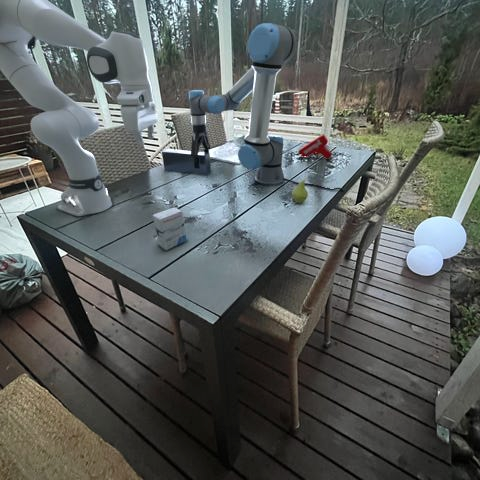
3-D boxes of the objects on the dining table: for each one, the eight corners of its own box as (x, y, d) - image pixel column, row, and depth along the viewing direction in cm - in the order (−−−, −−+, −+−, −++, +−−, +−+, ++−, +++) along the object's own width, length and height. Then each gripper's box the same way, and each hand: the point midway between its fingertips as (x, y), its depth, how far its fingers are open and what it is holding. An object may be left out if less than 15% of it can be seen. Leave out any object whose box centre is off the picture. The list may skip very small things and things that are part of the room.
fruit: (288, 200, 123) (290, 174, 116) (302, 197, 125) (305, 172, 119) (296, 206, 118) (299, 179, 111) (310, 203, 120) (314, 177, 114)
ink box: (179, 235, 98) (174, 206, 91) (187, 241, 95) (183, 210, 88) (158, 245, 93) (151, 214, 86) (165, 250, 90) (159, 219, 83)
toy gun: (335, 153, 174) (324, 133, 170) (335, 155, 171) (323, 134, 167) (310, 168, 184) (299, 149, 180) (310, 170, 181) (298, 151, 177)
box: (210, 172, 157) (209, 152, 150) (206, 175, 152) (205, 155, 146) (169, 167, 164) (167, 148, 158) (164, 170, 159) (161, 151, 153)
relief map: (237, 164, 168) (237, 156, 165) (197, 155, 185) (196, 147, 183) (261, 154, 186) (262, 147, 183) (222, 147, 204) (222, 140, 201)
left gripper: (140, 92, 93) (148, 135, 101) (113, 99, 76) (125, 149, 84) (158, 92, 93) (164, 135, 100) (135, 99, 76) (145, 149, 83)
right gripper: (202, 119, 152) (205, 158, 163) (180, 128, 132) (185, 170, 144) (214, 120, 150) (216, 159, 161) (194, 128, 130) (198, 172, 142)
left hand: (146, 141), depth 92 cm, fingers open, 8 cm apart
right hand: (202, 164), depth 153 cm, fingers open, 13 cm apart
